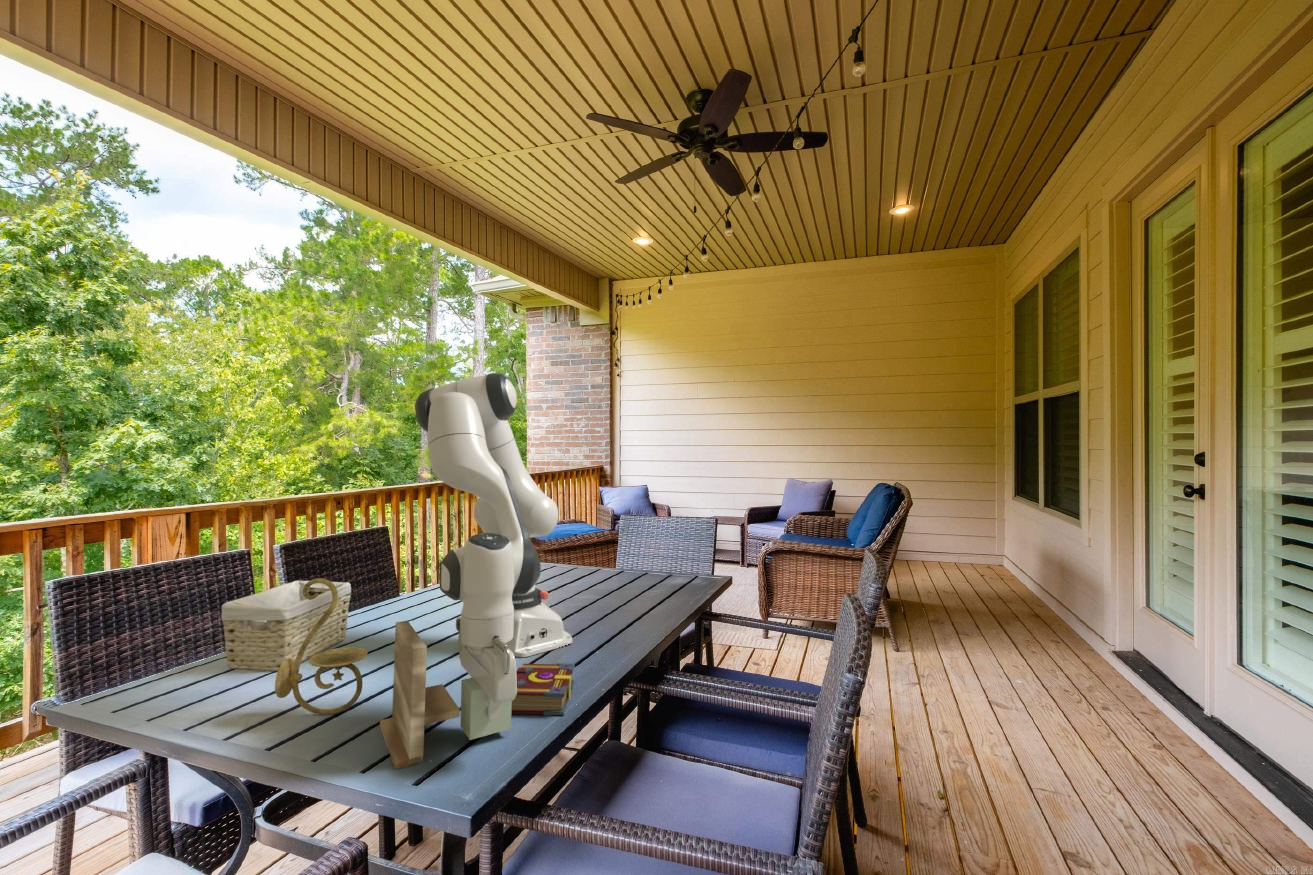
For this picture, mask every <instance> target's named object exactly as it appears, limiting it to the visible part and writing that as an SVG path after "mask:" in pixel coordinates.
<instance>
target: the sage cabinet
mask: <svg viewBox="0 0 1313 875" xmlns="http://www.w3.org/2000/svg"><path fill="white" fill-rule="evenodd" d="M460 683H461V684H460V685H461V690H460V692H461V695H460V697H461V698H460V725H459V726H460V728H461V729H462V731H463V732H464V734H465V735H466V737H467V738H468V739H469V741H471V740H475V739H478V738H483V737H486V736H489V735H493V734H497V733H500V732H504V731H507V730H511V729H512V727H511V726H512V714H511V705H512V701H509V702H506V703H502V704H501V705H500V707H499V717H498V718H495V719H491V720H490V719H489V718H488V717H487V715H486V706H488V702H489V700H488V696H487V695H486V693H485V692H484V691H483V690H482V689H481V688H480V686H479V685H478V684H477V683H476V682H475V681H474V679H473V678H471V677H469V678H464V679H461V682H460Z"/></svg>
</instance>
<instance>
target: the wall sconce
mask: <svg viewBox="0 0 1313 875" xmlns="http://www.w3.org/2000/svg"><path fill="white" fill-rule="evenodd" d="M308 581H309V582H308V583H306V585H305V586H304V588H303V596H304V597H305V598H306V599H309V600H312V599H315V598H316V597H317V596H318V595H319V592H314V594H310V593H308V589H309V587H310V586H311V585H313V584H316V583H322V584H325V585H327V586H328V587H329V588H330V590H331V592H332V603H331V605H330V607H329V609H328V610H327V611H326V613H325V614H324V615H323V616H322V618H321V619H320V620H319V621H318V623H317V624H316V625H315V626H314V627H313V629H312V630H311V631H310V633H309V634H308V635H307V637H306V639H305V640H304V642H303V644H302V646H301V648H300V650H299V652H298V654H297V657H296V660H294V659H292V658H288V659H286V660H284V661H283V663H282V664H281V666H280V668H279V670H278V671H276V676H275V683H274V691H275V695H276V697H278V698H279V699H282V698H286V697H287V696H288V695H289V694H290V693H291V692H292V693H293V697H294V699H295V701H296V702H297V704H298V705H300V707H301V708H303V709H304V710H306V711H308V712H310V713H313V714H316V715H322V716H324V715H325V716H326V715H334V714H339V713H342V712H344V711H346V710H348V709H349V708H351V707H352V706H353V705H354V704H355V703H356V702H357V701H358V700H359V698H360V696H361V694H362V690H363V677H362V673H361V671H360V669H359V668H358V667H357V665H355V664H354V663H357V662H359V661H361V660H363V659H364V658H366V657H367V655H368V651H367V650H366V648H361V647H354V646H352V647H351V646H350V647H347V646H346V647H337V648H332V649H326V650H323V651H321V652H319V653H317V654H315V655H313V656H312V657H310V658H309V659H308V663H309V664H310V665H311V666H313V667H316V668H317V667H318V669H317V670H316V672H315V674H314V682H315V685H316V686H317V688H318V689H322V690H328V689H331V688H333V687H334V686H335V684H334V683H331V682H330V683H323V681H322V680H321V676H322V674H323V672H325V671H326V670H328V669H331V668H333V669H334V670H337V671H336V672H335V673H331V674H332V676H333V677H334V678H333V679H334V680H333V681H334V682H335V681H343V679H342V677H343V676H344V675H345V673H343V672H340V670H341V669H343V668H347V669H349V670H351V671H352V672H353V675H354V677H355V679H356V689H355V690H356V691H355V693H354V695H353V696H352V698H351V699H350V700H349V701H348V702H347V703H345V704H343V705H341V706H338V707H334V708H333V707H332V708H319V707H316V706H313V705H312V704H310V703H308V702H307V701H306V700H305V699H304V698H303V697H302V695H301V693H300V688H299V682H300V681H301V680H302V679H303V674H302V673H299V672H300V667H301V663H302V662H301V660H302V657H303V654H304V652H305V650H306V648H307V646H308V644H309V642H310V641H311V639H312V638H313V636H314V635H315V633H316V632H317V631H318V630H319V628H320V627H321V626H322V625H323V623H324V622H325V621H326V620H327V619H328V617H329V616H330V615H331V613H332V612H333V611H334V609H335V607H336V605H337V602H338V591H337V589H336V587H335V585H334V584H333V583H332V582H333V581H331V580H328V579H327V578H324V577H322V578H321V577H319V578H313V579H311V580H308Z"/></svg>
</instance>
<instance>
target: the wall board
mask: <svg viewBox="0 0 1313 875" xmlns="http://www.w3.org/2000/svg"><path fill="white" fill-rule="evenodd" d="M394 629H395V632H394V633H395V634H394V656H393V657H394V661H393V684H392V685H393V689H392V713H391V714H392V716H391V717H390V718H385V719H381V720H379V728H380V730H381V731H380V732H381V733H382V736H383V739H384V741H385V744H386V748H387V750H388V752H389V755H390V758H391V761H392V764H393V767H394V769H395V770H397V769H402V768H406V767H409V766H414V765H417V764H420V763H423V762H424V744H425V743H424V741H425V725H429V724H434V723H439V722H443V721H447V720H451V719H455V718H461V708H460V707H459V706H458V704H456V702H455V701H454V699H453V697H452V696H451V695H450V693H449V692H448V690H447V689H446V688H445V685H444V684H443V683H441V684H436V685H431V686H427V687H426V684H427V682H426V681H427V659H428V658H427V654H428V646H427V645H426V644H425V642H424V641H423V639H422V638H421V637H420V635H419V634H418V632H417V631H416V630H415V628H414V627H413V626H412V624H411V623H410V621H408V620H403V621H395V628H394Z"/></svg>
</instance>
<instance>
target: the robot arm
mask: <svg viewBox="0 0 1313 875" xmlns="http://www.w3.org/2000/svg"><path fill="white" fill-rule="evenodd" d="M517 402H518V396H517V391H516V389H515V387H514V385H513V383H512V381H511V380H510V378H509V377H508V376H506V375H505V374H503V373H498V372H496V373H487V375H479V376H473V377H471V376H470V377H465V378H463V379H459V380H457V381H453V382H450V383H447V384H444V385H441V386H438V387H436V388H434V387H431V388H429V389H427V390H424V391H423V392H421V393H420V394H419V395H418V397H417V398H416V400H415V404H414V409H415V416H416V420H417V422H418V424H419V425H420V427H421V428H422V429H423V431H425V432H427V444H428V446H427V447H428V456H429V461H430V466H431V469H432V472H433V473H434V475H435V476H436V477H437V478H438V480H440V481H441V482H443V483H444V485H445V484H446V485H447V486H449V487H450V488H453V489H455V490H459V491H462V492H464V493H465V492H466V493H469V494H472V495H474V496H477V497H478V499H477V500H476V502H475V504H474V506H473V516H474V517H473V518H474V520H475V522H476V523H477V524H478V527H479V528H481V529H480V530H482V532H483V533H482V532H481V533H476V534H473V535H472V536H470V537H468V538H467V540H466V541H465V545H464V546H461V547H458V548H454V549H451V550H450V551H449V552H448V553H447V554H446V555H445V556H444V557H443V559H441V561H440V564H439V590H440V592H442V593H443V594H444V595H445V596H446V597H448V598H449V599H451V600H453V601H461V602H463V603H462V604H463V605H462V608H461V613H460V617H456V618H455V628H456V631H457V632H458V656H459V661H460V665H461V667H462V668H463V669H464V670H465V671H466V672H467V674H468V675H469V676H470V678H473V679H474V681H475V682H476V683H477V684H478V685H479V686H480V688H481V689H482V690H483V691H484V692H485V693H486V695H487V696H488V700H489V702H488V706H486V715H487V717H488V718H489V719H490V720H491V719H495V718H498V717H499V707H500V705H501V704H502V703H506V702H509V701H513V700H514V699H515V697H516V694H517V674H516V671H517V662H516V658H515V657H517V658H526V657H530V656H534V655H537V654H542V653H545V652H548V651H552V650H555V649H559V647H560V648H563V647H566V646H565V645H567V646H569V645H568V644H570V643H572V644H573V637H572V635H571V634H570V633H569V632H568V631H566V630H565V628H564V622H563V619H562V617H561V616H560V615H559V614H558V613H557V612H556V611H554V610H553V609H552V608H550V607H549V606H548V605H547V604H545V603H544V602H542V601H547V600H548V598H549V596H550V593H549V592H548V591H546V590H541V589H539V588H537V587H536V583H537V582H538V580H539V578H540V576H541V571H542V569H541V561H540V557H539V554H538V552H537V550H536V548H535V546H534V544H533V542H532V540H531V538H538V537H545V536H547V535H550V534H551V533H553V531H554V530H555V528H556V526H557V524H558V522H559V508H558V505H557V503H556V502H555V501H554V500H553V499H552V498H550V497H549V496H548V495H547V494H545V493H544V492H543V490H541V488H540V487H539V486H538V485H537V484H536V482H535V481H534V479H533V478H532V476H531V475H530V473H529V472H528V470H527V468H526V466H525V464H524V462H523V459H522V456H521V453H520V451H519V448H518V445H517V442H516V439H515V435H514V433H513V430H512V427H511V425H510V423H509V421H508V420H509V418H510V417H512V416H513V415H514V413H515V412H516V410H517V406H518V403H517ZM570 645H571V644H570ZM562 646H563V647H562Z"/></svg>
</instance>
